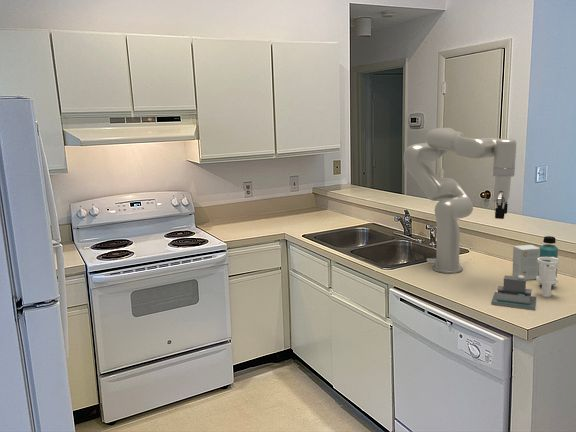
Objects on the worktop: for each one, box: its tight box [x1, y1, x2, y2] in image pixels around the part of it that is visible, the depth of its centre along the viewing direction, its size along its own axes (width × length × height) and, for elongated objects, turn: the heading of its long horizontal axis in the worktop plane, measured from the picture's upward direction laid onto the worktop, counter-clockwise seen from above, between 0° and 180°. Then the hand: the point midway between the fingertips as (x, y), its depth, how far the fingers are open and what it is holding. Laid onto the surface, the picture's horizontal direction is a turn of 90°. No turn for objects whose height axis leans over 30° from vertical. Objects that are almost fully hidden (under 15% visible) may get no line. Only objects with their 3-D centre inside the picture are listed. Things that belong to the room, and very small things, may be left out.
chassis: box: [490, 291, 537, 311], centre depth 176 cm, size 14×11×4 cm
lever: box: [496, 275, 533, 296], centre depth 176 cm, size 11×4×9 cm, turn 61°
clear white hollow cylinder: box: [535, 257, 560, 298], centre depth 180 cm, size 7×7×15 cm
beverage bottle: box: [538, 235, 559, 287], centre depth 188 cm, size 6×7×20 cm
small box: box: [511, 244, 540, 281], centre depth 200 cm, size 8×6×13 cm
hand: (501, 215), depth 190 cm, fingers open, 9 cm apart
